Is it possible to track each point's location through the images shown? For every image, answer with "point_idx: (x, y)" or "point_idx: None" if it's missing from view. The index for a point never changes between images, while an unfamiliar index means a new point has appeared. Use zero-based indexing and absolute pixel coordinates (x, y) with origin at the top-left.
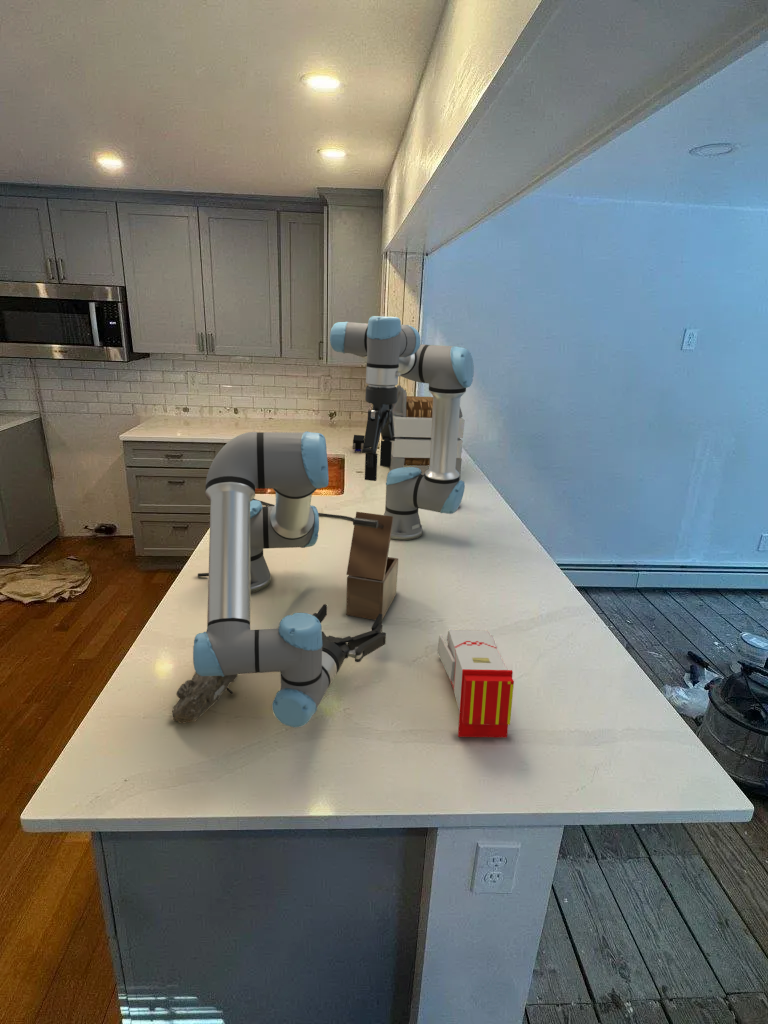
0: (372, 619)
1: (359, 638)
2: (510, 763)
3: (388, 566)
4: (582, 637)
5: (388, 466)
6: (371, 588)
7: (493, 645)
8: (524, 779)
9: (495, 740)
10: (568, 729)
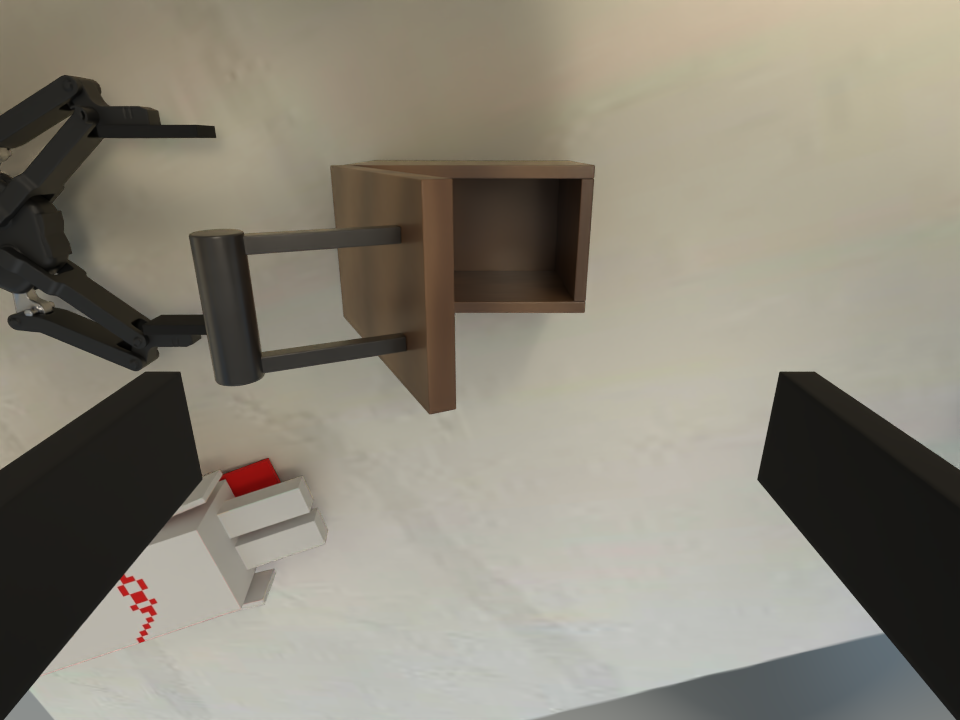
0: None
1: (75, 307)
2: None
3: (569, 269)
4: (484, 691)
5: (763, 466)
6: None
7: (151, 634)
8: None
9: None
10: (172, 661)
